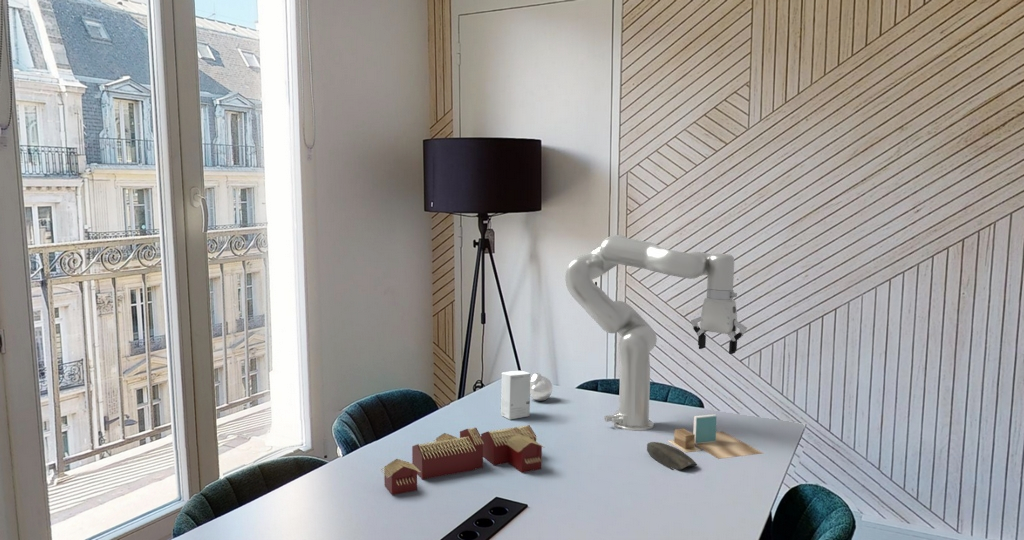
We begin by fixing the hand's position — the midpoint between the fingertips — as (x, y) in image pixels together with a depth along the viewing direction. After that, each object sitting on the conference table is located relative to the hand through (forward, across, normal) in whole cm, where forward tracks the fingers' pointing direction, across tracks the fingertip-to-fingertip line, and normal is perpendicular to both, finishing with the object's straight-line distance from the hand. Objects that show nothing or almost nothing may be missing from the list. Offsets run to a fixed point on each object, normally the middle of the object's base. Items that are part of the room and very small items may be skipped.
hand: (716, 350), depth 216 cm
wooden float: (+27, +2, +14) cm, 31 cm away
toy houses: (+28, +39, +70) cm, 85 cm away
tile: (+26, -1, +8) cm, 27 cm away
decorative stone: (+28, 0, +28) cm, 39 cm away
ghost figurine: (+28, +64, +5) cm, 70 cm away
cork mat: (+27, -5, +6) cm, 28 cm away
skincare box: (+28, +59, +25) cm, 69 cm away
